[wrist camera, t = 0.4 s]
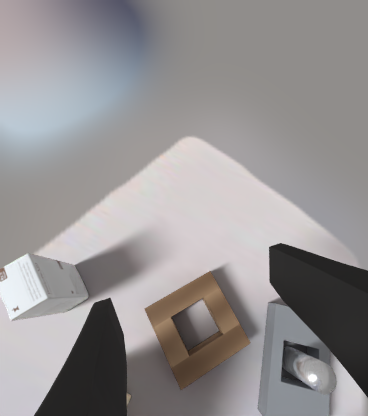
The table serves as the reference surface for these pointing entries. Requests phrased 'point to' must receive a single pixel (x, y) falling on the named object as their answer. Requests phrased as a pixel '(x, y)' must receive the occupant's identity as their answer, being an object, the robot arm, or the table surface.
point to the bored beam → (272, 365)
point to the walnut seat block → (207, 350)
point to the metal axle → (309, 370)
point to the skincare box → (40, 287)
